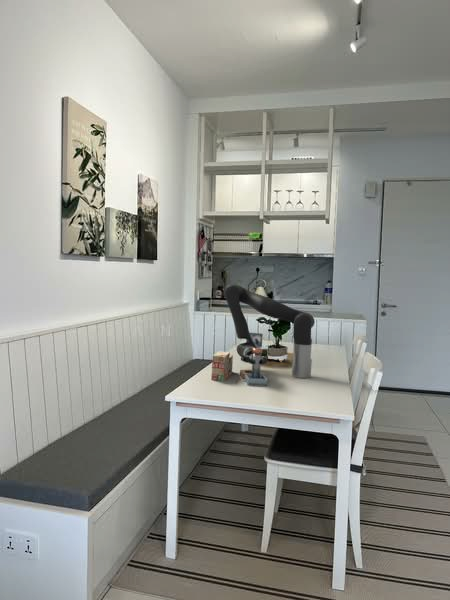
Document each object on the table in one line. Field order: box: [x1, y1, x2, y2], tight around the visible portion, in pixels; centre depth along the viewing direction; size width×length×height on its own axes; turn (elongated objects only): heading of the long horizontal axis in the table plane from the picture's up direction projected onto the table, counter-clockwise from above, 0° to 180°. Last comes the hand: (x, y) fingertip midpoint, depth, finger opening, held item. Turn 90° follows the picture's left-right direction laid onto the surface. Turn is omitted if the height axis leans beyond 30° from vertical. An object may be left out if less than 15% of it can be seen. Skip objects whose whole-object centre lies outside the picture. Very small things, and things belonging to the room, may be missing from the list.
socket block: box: [239, 369, 262, 381], centre depth 240 cm, size 9×9×3 cm
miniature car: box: [261, 346, 269, 356], centre depth 287 cm, size 9×18×8 cm, turn 88°
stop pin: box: [251, 348, 262, 378], centre depth 229 cm, size 5×5×14 cm
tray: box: [244, 374, 268, 387], centre depth 230 cm, size 9×9×3 cm
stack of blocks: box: [211, 350, 234, 382], centre depth 241 cm, size 21×6×12 cm, turn 168°
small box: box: [245, 332, 263, 348], centre depth 324 cm, size 11×6×10 cm, turn 80°
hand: (257, 362), depth 226 cm, fingers closed on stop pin, 4 cm apart
